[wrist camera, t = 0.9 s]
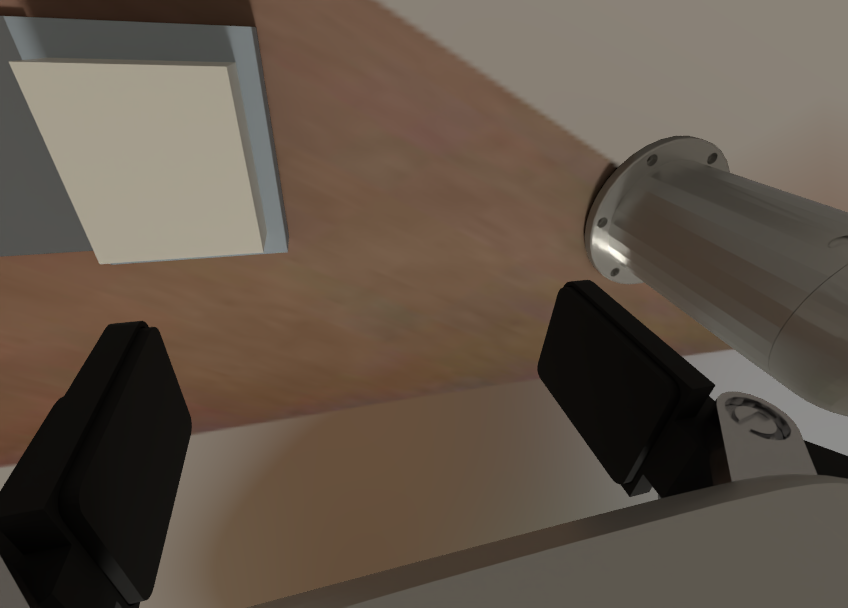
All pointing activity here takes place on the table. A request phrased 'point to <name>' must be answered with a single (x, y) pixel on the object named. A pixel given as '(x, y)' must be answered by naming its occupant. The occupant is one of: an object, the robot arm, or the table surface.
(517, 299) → the table surface
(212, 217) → the tile
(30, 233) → the mat
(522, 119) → the table surface
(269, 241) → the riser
